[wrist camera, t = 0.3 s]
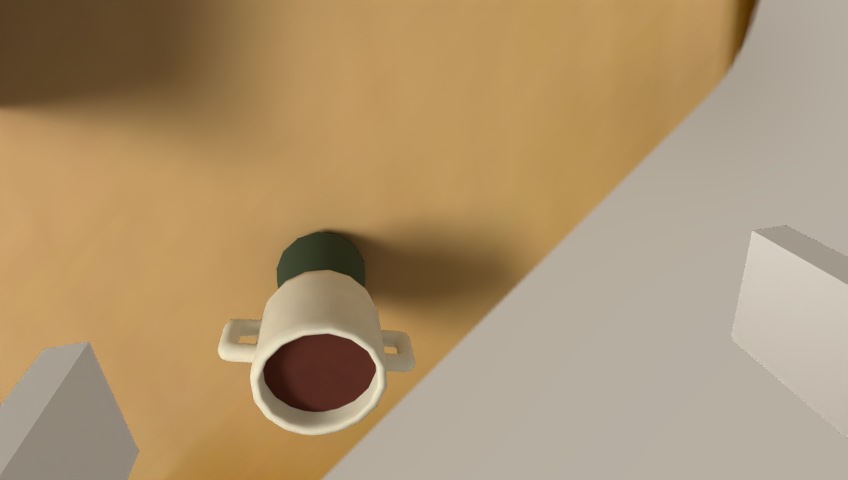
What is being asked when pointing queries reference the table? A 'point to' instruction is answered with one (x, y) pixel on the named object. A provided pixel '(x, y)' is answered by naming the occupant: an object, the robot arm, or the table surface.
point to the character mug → (318, 341)
